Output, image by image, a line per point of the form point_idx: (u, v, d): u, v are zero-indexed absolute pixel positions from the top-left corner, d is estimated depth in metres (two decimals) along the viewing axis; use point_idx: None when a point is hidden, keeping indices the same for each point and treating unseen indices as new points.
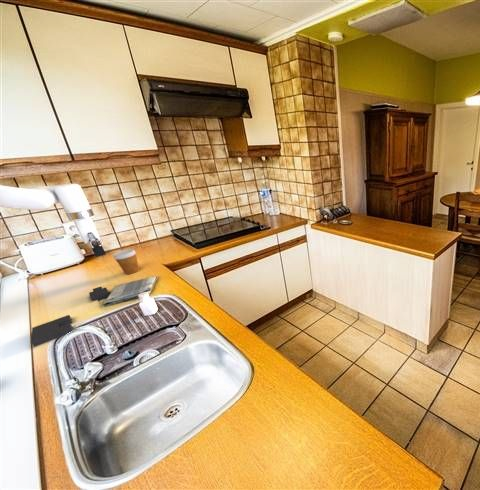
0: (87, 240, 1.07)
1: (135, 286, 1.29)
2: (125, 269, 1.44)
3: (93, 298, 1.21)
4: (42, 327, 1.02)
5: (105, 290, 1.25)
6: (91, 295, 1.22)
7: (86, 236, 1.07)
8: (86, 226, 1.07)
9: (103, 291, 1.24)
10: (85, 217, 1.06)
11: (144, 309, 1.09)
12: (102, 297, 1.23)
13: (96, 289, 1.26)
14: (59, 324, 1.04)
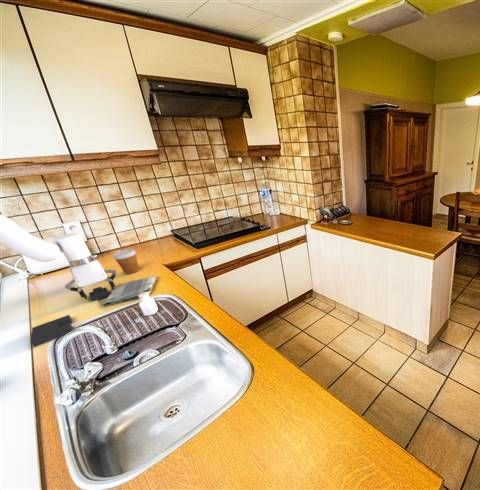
0: None
1: (135, 286, 1.29)
2: (125, 269, 1.44)
3: (93, 298, 1.21)
4: (42, 327, 1.02)
5: (105, 290, 1.25)
6: (91, 295, 1.22)
7: None
8: None
9: (103, 291, 1.24)
10: (71, 266, 1.15)
11: (144, 309, 1.09)
12: (102, 297, 1.23)
13: (96, 289, 1.26)
14: (59, 324, 1.04)
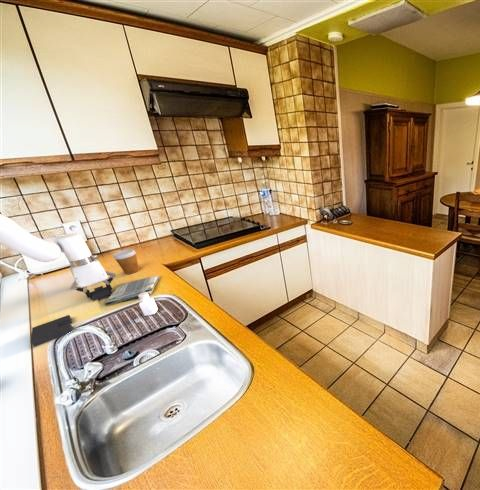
0: None
1: (137, 286, 1.30)
2: (125, 269, 1.44)
3: (95, 298, 1.22)
4: (42, 327, 1.02)
5: (106, 289, 1.25)
6: (92, 294, 1.22)
7: None
8: (72, 273, 1.16)
9: (104, 290, 1.25)
10: (71, 266, 1.15)
11: (144, 309, 1.09)
12: (103, 296, 1.24)
13: (97, 288, 1.27)
14: (59, 324, 1.04)
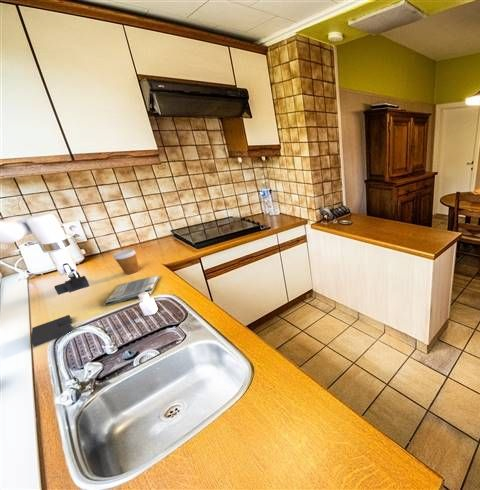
0: (62, 271, 1.03)
1: (137, 286, 1.30)
2: (125, 269, 1.44)
3: (87, 282, 1.11)
4: (42, 327, 1.02)
5: None
6: None
7: (63, 270, 1.03)
8: (62, 257, 1.02)
9: None
10: (60, 248, 1.02)
11: (144, 309, 1.09)
12: (87, 281, 1.13)
13: (60, 285, 1.07)
14: (59, 324, 1.04)
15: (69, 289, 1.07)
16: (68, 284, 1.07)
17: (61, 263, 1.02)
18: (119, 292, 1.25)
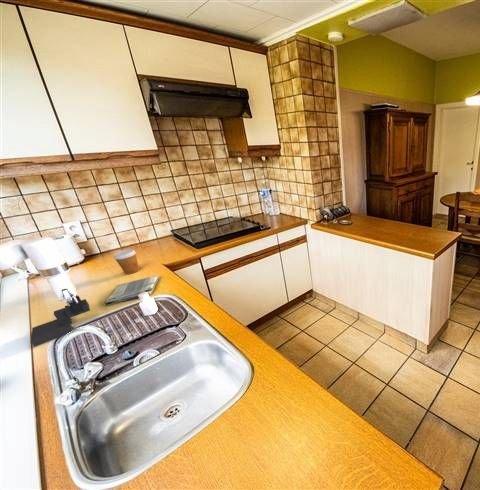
0: (61, 297, 0.98)
1: (137, 286, 1.30)
2: (125, 269, 1.44)
3: (88, 306, 1.06)
4: (42, 327, 1.02)
5: (79, 301, 1.07)
6: None
7: (61, 296, 0.98)
8: (60, 282, 0.98)
9: None
10: (59, 273, 0.97)
11: (144, 309, 1.09)
12: (88, 305, 1.08)
13: (60, 311, 1.02)
14: (59, 324, 1.04)
15: (69, 315, 1.02)
16: (68, 309, 1.03)
17: (60, 289, 0.97)
18: (119, 292, 1.25)
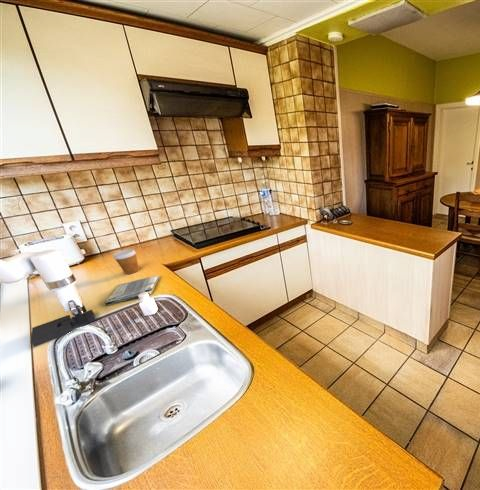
0: (68, 309, 1.00)
1: (137, 286, 1.30)
2: (125, 269, 1.44)
3: (94, 317, 1.09)
4: (42, 327, 1.02)
5: (85, 312, 1.10)
6: (87, 316, 1.07)
7: (67, 305, 1.00)
8: (67, 294, 1.00)
9: (86, 313, 1.09)
10: (65, 285, 0.99)
11: (144, 309, 1.09)
12: (94, 315, 1.11)
13: (67, 321, 1.04)
14: (59, 324, 1.04)
15: (76, 325, 1.04)
16: None
17: (66, 300, 1.00)
18: (119, 292, 1.25)
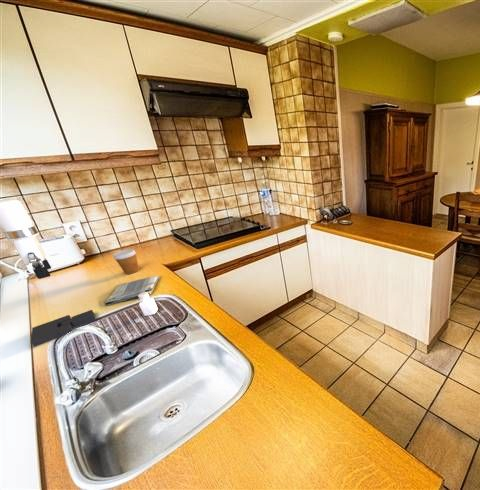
0: (27, 261, 0.98)
1: (137, 286, 1.30)
2: (125, 269, 1.44)
3: (94, 317, 1.09)
4: (42, 327, 1.02)
5: (85, 312, 1.10)
6: (87, 316, 1.07)
7: (26, 257, 0.97)
8: (27, 245, 0.97)
9: (86, 313, 1.09)
10: (25, 236, 0.97)
11: (144, 309, 1.09)
12: (94, 315, 1.11)
13: (67, 321, 1.04)
14: (59, 324, 1.04)
15: (76, 325, 1.04)
16: (75, 320, 1.05)
17: (26, 252, 0.97)
18: (119, 292, 1.25)
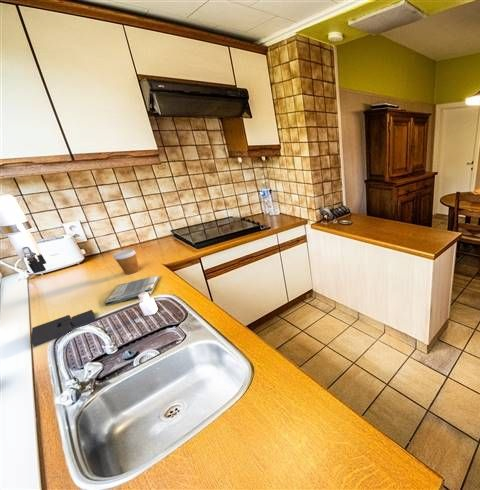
0: (22, 255, 0.99)
1: (137, 286, 1.30)
2: (125, 269, 1.44)
3: (94, 317, 1.09)
4: (42, 327, 1.02)
5: (85, 312, 1.10)
6: (87, 316, 1.07)
7: (21, 251, 0.98)
8: (21, 240, 0.98)
9: (86, 313, 1.09)
10: (20, 230, 0.98)
11: (144, 309, 1.09)
12: (94, 315, 1.11)
13: (67, 321, 1.04)
14: (59, 324, 1.04)
15: (76, 325, 1.04)
16: (75, 320, 1.05)
17: (21, 246, 0.98)
18: (119, 292, 1.25)
